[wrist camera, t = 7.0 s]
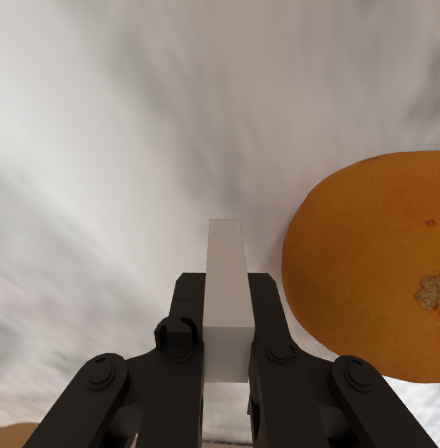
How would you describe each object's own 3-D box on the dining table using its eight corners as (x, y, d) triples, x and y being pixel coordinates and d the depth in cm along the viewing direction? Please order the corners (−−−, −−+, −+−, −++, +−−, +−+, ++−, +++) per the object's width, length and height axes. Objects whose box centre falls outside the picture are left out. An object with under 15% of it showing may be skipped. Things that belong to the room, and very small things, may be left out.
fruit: (417, 83, 12) (699, 89, 5) (473, 237, 16) (673, 360, 9) (234, 211, 15) (248, 325, 8) (320, 312, 19) (380, 447, 12)
